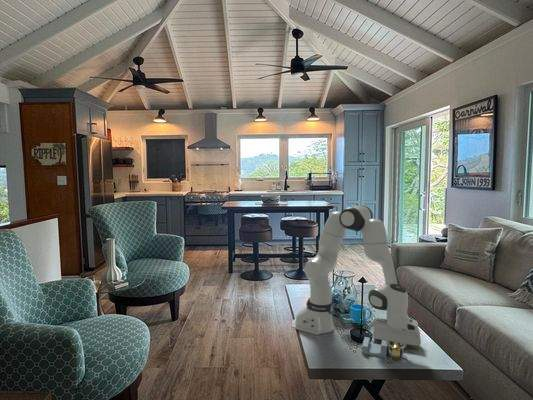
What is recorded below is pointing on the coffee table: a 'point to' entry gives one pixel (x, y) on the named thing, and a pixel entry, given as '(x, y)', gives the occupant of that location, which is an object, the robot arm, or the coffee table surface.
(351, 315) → the mug
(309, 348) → the coffee table surface
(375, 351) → the cradle
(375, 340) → the beam
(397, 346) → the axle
